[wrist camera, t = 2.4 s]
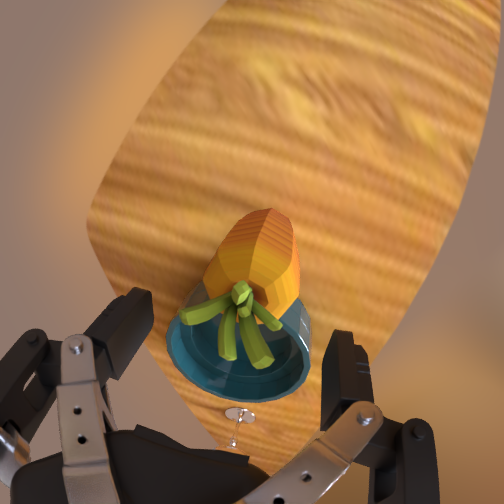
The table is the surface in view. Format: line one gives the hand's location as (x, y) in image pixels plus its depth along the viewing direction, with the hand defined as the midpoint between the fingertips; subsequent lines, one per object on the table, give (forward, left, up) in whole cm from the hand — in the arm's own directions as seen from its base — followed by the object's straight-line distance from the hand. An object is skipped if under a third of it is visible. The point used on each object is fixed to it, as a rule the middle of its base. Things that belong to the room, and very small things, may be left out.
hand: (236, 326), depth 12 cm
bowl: (+12, -1, -13) cm, 18 cm away
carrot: (0, 0, -13) cm, 13 cm away
